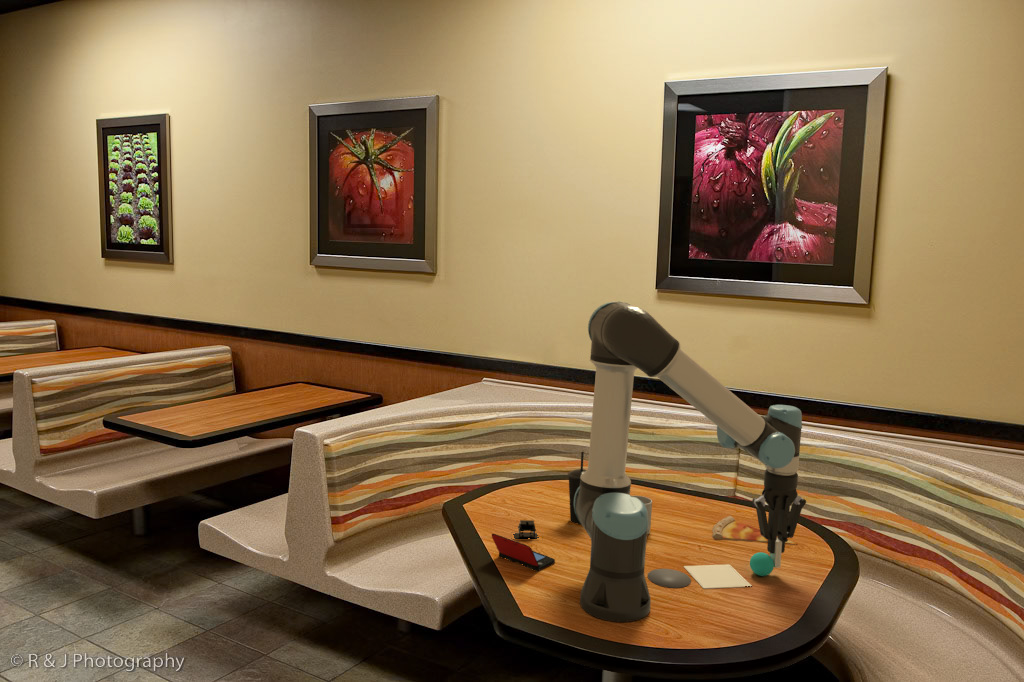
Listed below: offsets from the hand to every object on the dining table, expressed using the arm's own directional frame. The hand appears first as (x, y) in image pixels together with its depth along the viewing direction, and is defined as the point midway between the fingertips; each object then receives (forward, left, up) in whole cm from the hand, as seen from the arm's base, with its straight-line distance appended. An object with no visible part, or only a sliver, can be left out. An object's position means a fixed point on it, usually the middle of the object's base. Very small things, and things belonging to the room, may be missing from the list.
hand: (774, 565), depth 187 cm
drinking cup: (-39, +38, -3) cm, 54 cm away
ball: (-3, 0, 0) cm, 3 cm away
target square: (-15, 0, -2) cm, 15 cm away
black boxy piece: (-56, +28, -3) cm, 62 cm away
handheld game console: (-60, +12, -3) cm, 61 cm away
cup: (-25, +28, -3) cm, 37 cm away
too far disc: (-27, 0, -2) cm, 27 cm away
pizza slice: (+4, +23, -3) cm, 23 cm away
